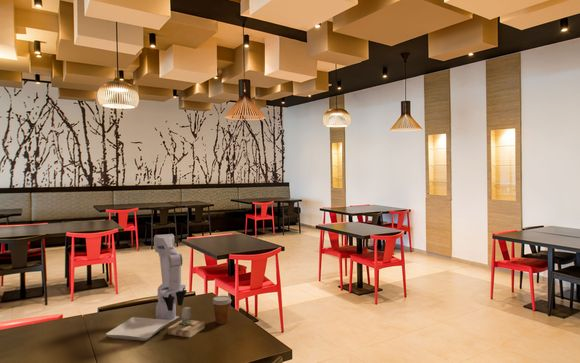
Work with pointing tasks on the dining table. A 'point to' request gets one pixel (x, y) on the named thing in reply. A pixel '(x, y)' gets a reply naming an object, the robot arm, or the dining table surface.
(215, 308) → the disposable coffee cup
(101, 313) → the dining table surface
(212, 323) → the dining table surface
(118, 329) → the salad plate
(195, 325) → the jack base
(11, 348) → the dining table surface
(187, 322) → the post
